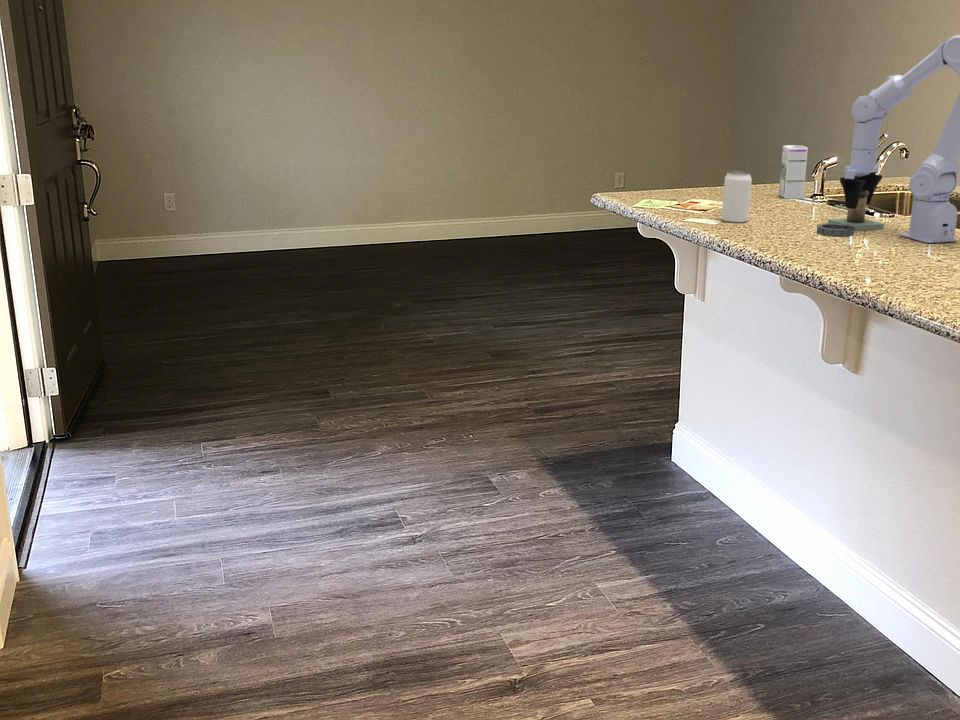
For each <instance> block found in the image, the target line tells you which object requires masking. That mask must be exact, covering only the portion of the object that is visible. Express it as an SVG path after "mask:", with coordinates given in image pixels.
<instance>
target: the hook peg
mask: <svg viewBox="0 0 960 720" xmlns="http://www.w3.org/2000/svg"><path fill="white" fill-rule="evenodd" d="M867 195H869V191H866V190H861V193H860V196H859V200H858V204H857V207H856V209H850V208H847V215H846V218H847V222H850V223H864V219H866V211H867V205H866V203H867Z"/></svg>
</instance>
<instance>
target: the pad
mask: <svg viewBox="0 0 960 720" xmlns="http://www.w3.org/2000/svg"><path fill="white" fill-rule="evenodd" d="M827 224H842V225H849V226H852V227H854V232H855V231H870V230H872V231H873V230H884V228H885V226H884V225H885V223H882V222H879V221H878V222H877V221H874V220H872V219H867V218H865V219H864V223H850V222H847V217H844V218H830V219H828V221H827Z"/></svg>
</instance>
